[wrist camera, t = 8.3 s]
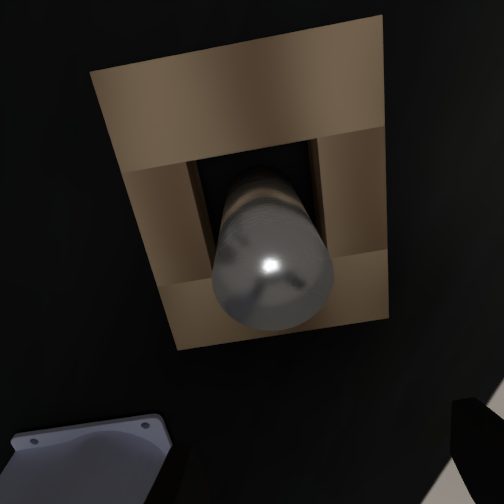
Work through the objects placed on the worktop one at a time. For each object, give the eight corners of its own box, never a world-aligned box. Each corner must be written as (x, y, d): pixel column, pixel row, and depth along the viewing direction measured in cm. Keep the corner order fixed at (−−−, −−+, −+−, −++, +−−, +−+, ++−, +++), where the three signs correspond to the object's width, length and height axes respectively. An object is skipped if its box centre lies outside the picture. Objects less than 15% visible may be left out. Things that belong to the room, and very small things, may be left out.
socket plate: (185, 320, 19) (177, 350, 17) (114, 76, 14) (89, 72, 12) (371, 291, 19) (388, 317, 16) (359, 28, 14) (382, 14, 12)
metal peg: (236, 238, 17) (230, 341, 10) (217, 174, 16) (196, 239, 9) (300, 223, 17) (342, 317, 10) (286, 157, 16) (323, 208, 9)
